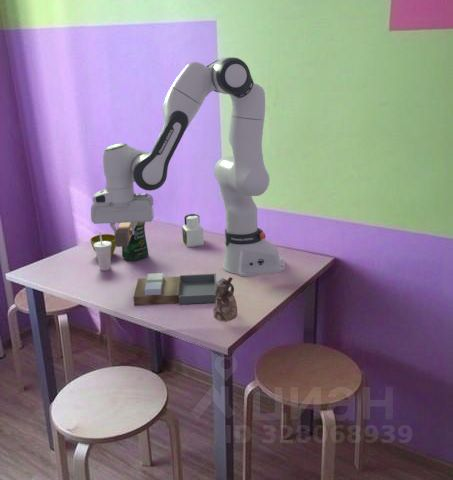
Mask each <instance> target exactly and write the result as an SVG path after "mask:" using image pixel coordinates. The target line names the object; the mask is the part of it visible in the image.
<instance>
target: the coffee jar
mask: <svg viewBox="0 0 453 480" xmlns="http://www.w3.org/2000/svg"><path fill="white" fill-rule="evenodd" d="M132 226H133V225H132ZM145 226H146V222H137V224H136V226H135V228H134V235H132V236H131V239H130V241H129V244H128V246H125V247H121V255H122V258H123V259H124V260H126V261H131V262H132V261H138V260H141V259H143V258H146V257H147V256H148V255H149V249H148V243H147V238H146V229H145Z"/></svg>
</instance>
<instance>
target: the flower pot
mask: <svg viewBox="0 0 453 480" xmlns="http://www.w3.org/2000/svg"><path fill="white" fill-rule="evenodd" d="M101 237H102V241H109V242H111V244H112V246H111V257H112V256H113V254H114V253H115V250H116V248H117V247H116V239H115V235H114V234H112V233H111V234H110V233H101ZM96 242H100V234H97V235H93V236H92V237H91V238H90V244H91V247H92V249H93V251H94V252H95V253H96V251H95V248H94V244H95V243H96Z"/></svg>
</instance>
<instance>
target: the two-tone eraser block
mask: <svg viewBox="0 0 453 480" xmlns="http://www.w3.org/2000/svg"><path fill="white" fill-rule="evenodd" d="M132 227H133V226H132V222H126V223H119V224H118V227H117V230H116V232H115V239H116V248H117V247H119V248H122V247H125V246H128V244H129V241H130V239H131V236H132V235H129V233H130V232H129V229H130V228H132Z"/></svg>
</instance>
